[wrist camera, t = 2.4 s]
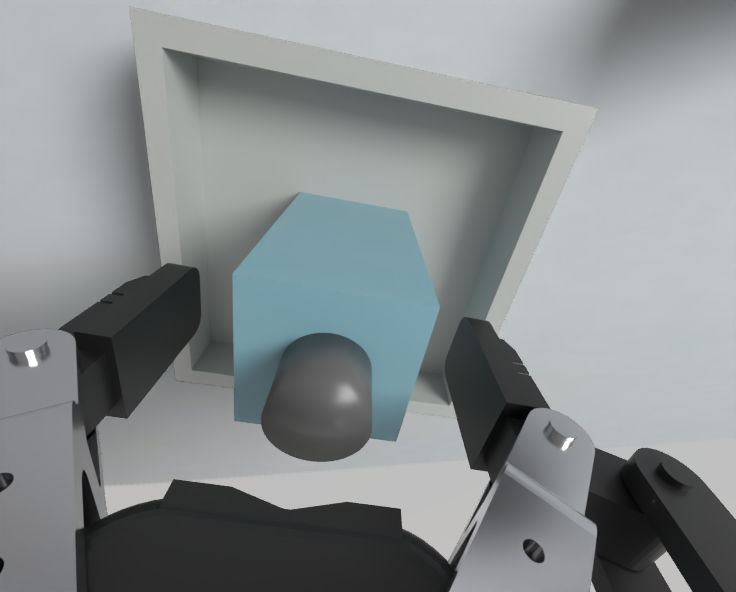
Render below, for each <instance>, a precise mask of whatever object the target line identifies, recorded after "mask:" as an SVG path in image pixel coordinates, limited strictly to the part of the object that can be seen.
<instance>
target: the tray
mask: <svg viewBox="0 0 736 592" xmlns="http://www.w3.org/2000/svg"><path fill="white" fill-rule="evenodd" d="M129 9H130V17H131V25H132V33H133V41H134V49H135V57H136V65H137V73H138V81H139V89H140V97H141V105H142V113H143V121H144V129H145V137H146V145H147V153H148V161H149V170H150V178H151V186H152V194H153V202H154V210H155V218H156V226H157V234H158V242H159V250H160V258H161V266H164V265H165V264H167V263H173V264H179V265H184V266H190V267H195V268H197V269H198V271H199V274H200V293H201V320H200V324H199V327H198V330H197V332H196V333H195V335H194V336H193V337H192V338H191V340H190V341H189V342H188V343H187V345H186V346H185V347H184V348H183V350H182V351H181V352H180V353H179V355H178V356H177V357H176V358H175V360H174V361H173V362H174V371H175V379H176V381H183V382H190V383H198V384H205V385H213V386H220V387H227V388H234V347H233V277H232V274H233V273H234V271H235V270H236V269H237V268H238V267H239V265H240V264H241V263H242V262H243V261H244V259H245V258H246V257H247V256H248V255H249V253H250V252H251V251H252V250H253V248H254V247H255V246H256V245H257V244H258V242H259V241H260V240H261V239H262V238H263V236H264V235H265V234H266V233H267V232H268V230H269V229H270V228H271V227H272V226H273V224H274V223H275V222H276V221H277V220H278V218H279V217H280V216H281V215H282V214H283V212H284V211H285V210H286V209H287V208H288V206H289V205H290V204H291V203H292V202H293V200H294V199H295V198H296V197H297V196H298V194H299V193H300V192H304V193H309V194H315V195H320V196H326V197H331V198H337V199H342V200H347V201H353V202H358V203H364V204H369V205H375V206H380V207H386V208H391V209H397V210H402V211H407V212H408V215H409V218H410V221H411V224H412V227H413V230H414V233H415V236H416V238H417V241H418V244H419V247H420V250H421V253H422V256H423V259H424V262H425V265H426V268H427V271H428V273H429V276H430V279H431V282H432V285H433V288H434V291H435V294H436V297H437V300H438V303H439V306H440V309H439V312H438V315H437V318H436V321H435V324H434V328H433V331H432V334H431V337H430V340H429V343H428V346H427V349H426V352H425V355H424V358H423V361H422V364H421V367H420V370H419V373H418V376H417V379H416V382H415V385H414V388H413V391H412V394H411V397H410V400H409V403H408V406H407V409H406V412H411V413H419V414H426V415H433V416H441V417H448V418H455V419H457V417H456V413H455V410H454V406H453V402H452V399H451V395H450V392H449V388H448V384H447V381H446V377H445V361H446V357H447V354H448V351H449V349H450V346H451V344H452V341H453V338H454V336H455V333H456V331H457V328H458V326H459V323H460V321H461V320H462V318H463V317H469V318H475V319H480V320H486V321H489V322H490V323H491V325H492V327H493V328H494V330H495V332H496V334H497V335H498V333H499V331H500V329H501V327H502V324H503V322H504V320H505V318H506V315H507V313H508V311H509V309H510V306H511V304H512V302H513V300H514V297H515V295H516V293H517V291H518V288H519V286H520V284H521V282H522V279H523V277H524V275H525V273H526V270H527V268H528V266H529V264H530V261H531V259H532V257H533V255H534V253H535V250H536V248H537V246H538V244H539V241H540V239H541V237H542V235H543V232H544V230H545V228H546V226H547V223H548V221H549V219H550V217H551V214H552V212H553V210H554V208H555V205H556V203H557V201H558V199H559V196H560V194H561V192H562V190H563V187H564V185H565V183H566V181H567V178H568V176H569V174H570V172H571V170H572V167H573V165H574V163H575V161H576V158H577V156H578V154H579V152H580V149H581V147H582V145H583V143H584V140H585V138H586V136H587V134H588V131H589V129H590V127H591V125H592V122H593V120H594V118H595V116H596V113H597V111H598V108H594V107H589V106H585V105H580V104H575V103H571V102H566V101H562V100H557V99H552V98H548V97H543V96H539V95H534V94H529V93H525V92H520V91H516V90H511V89H506V88H502V87H497V86H493V85H488V84H483V83H479V82H474V81H470V80H465V79H460V78H456V77H451V76H447V75H442V74H437V73H433V72H428V71H424V70H419V69H414V68H410V67H405V66H401V65H396V64H391V63H387V62H382V61H378V60H373V59H368V58H364V57H359V56H354V55H350V54H345V53H341V52H336V51H331V50H327V49H322V48H318V47H313V46H308V45H304V44H299V43H295V42H290V41H285V40H281V39H276V38H272V37H267V36H262V35H258V34H253V33H249V32H244V31H239V30H235V29H230V28H226V27H221V26H216V25H212V24H207V23H203V22H198V21H193V20H189V19H184V18H180V17H175V16H170V15H166V14H161V13H157V12H152V11H147V10H143V9H138V8H134V7H129Z"/></svg>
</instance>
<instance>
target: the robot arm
mask: <svg viewBox="0 0 736 592" xmlns="http://www.w3.org/2000/svg"><path fill="white" fill-rule="evenodd" d="M200 320H201V293H200V274H199V271H198V269H197V268H195V267H190V266H184V265H179V264H173V263H167V264H165V265H164V266H162V267H161V268H160V269H158V270H157V271H155V272H154V273H153V274H151V275H150V276H143V277H140V278H138V279H135V280H132V281H129V282H126V283H125V284H123V285H122V286H120V287H119V288H117V289H116V290H114V291H113V292H112V294H109V295H107V296H106V297H104V298H103V299H101V301H100V303H99V302H97V303H96V304H94V305H93V306H91V307H90V308H88V309H87V310H85V311H84V312H82V313H81V314H80V315H78V316H77V317H75V318H74V319H72V320H71V321H69V322H68V323H67V324H65V325H64V326H62V327H61V328H59V329H58V330H56V329H37V330H29V331H23V332H19V333H15V334H12V335H9V336H6V337H3V338H1V339H0V592H590V585H591V581H592V583H593V586H594V588H595V590H596V592H671V590H670V588H669V587H668V585H667V583H666V581H665V580H664V578H663V576H662V574H661V573H660V571H659V569H658V568H657V566H656V564H655V563H654V561H655V560H657V559H658V558H659V557H660V556H662V555H663V554H664V553H665V552H666V551H667V552H668V553H669V555H670V556H671V558H672V559H673V561H674V563H675V564H676V566H677V568H678V569H679V571H680V572H681V574H682V576H683V577H684V579H685V580H686V582H687V583H688V585H689V587H690V588H691V590H692V592H736V519H735V518H734V517H733V516H732V515H731V514H730V512H729V511H728V510H727V509H726V508H725V507H724V505H723V504H722V503H721V502H720V500H719V499H718V498H717V497H716V496H715V495H714V493H713V492H712V491H711V490H710V489H709V488H708V486H707V485H706V484H705V483H704V482H703V481H702V480H701V479H700V478H699V477H698V476H697V475H696V474H695V473H694V472H693V471H692V470H690V469H689V468H688V467H687V466H685V465H684V464H682V463H681V462H679V461H678V460H676V459H675V458H673V457H671V456H669V455H667V454H665V453H663V452H660V451H658V450H654V449H650V448H641V449H638V450H637V451H636V452H635V453H634V454H633V455H632V457H631V458H630V459H629V460H628V461H627V460H624V459H622V458H619V457H617V456H615V455H612V454H609V453H607V452H605V451H602V450H600V449H597V448H595V447H594V444H593V441H592V440H591V438H590V436H589V435H588V434H587V432H586V431H585V430H584V429H583V428H582V427H581V426H580V425H579V424H577V423H576V422H575V421H573V420H572V419H571V418H569V417H567V416H566V415H564V414H562V413H560V412H557V411H555V410H552V409H550V408H549V406H548V404H547V403H546V401H545V399H544V397H543V396H542V394H541V392H540V391H539V389H538V387H537V386H536V384H535V382H534V381H533V379H532V377H531V376H529V372H528V371H527V369H526V367H525V366H524V365H523V362H522V361H521V359H520V357H519V356H518V354H517V352H516V351H515V350H514V349H513V348H512V347H511V346H510V345H509V344H507V343H506V342H505V341H504V340H503V339H499V337H498V336H497V334H496V332H495V330H494V328H493V327H492V325H491V323H490V322H489V321H486V320H480V319H475V318H469V317H463V318H462V320H461V321H460V323H459V326H458V328H457V331H456V333H455V336H454V338H453V341H452V344H451V346H450V349H449V351H448V354H447V357H446V361H445V377H446V381H447V384H448V388H449V392H450V395H451V399H452V402H453V406H454V410H455V413H456V417H457V421H458V424H459V428H460V432H461V435H462V439H463V442H464V446H465V450H466V453H467V457H468V461H469V464H470V468H471V469H474V470H482V471H488V473H489V476H490V481H489V482H488V484H487V486H486V487H485V489H484V492H483V493H482V496H481V498H480V499H479V501H478V503H477V506H476V507H475V509H474V511H473V513H472V516H471V517H470V519H469V521H468V523H467V525H466V527H465V529H464V531H463V533H462V535H461V537H460V539H459V541H458V543H457V545H456V547H455V549H454V551H453V553H452V555H451V556H450V558H449V560H448V561H447V560H446V559H445V558H444V557H443V556H442V555H441V554H439V552H437V551H436V550H435V549H434V548H433V547H431V546H430V545H429V544H428V543H426V542H425V541H424V540H422V539H421V538H419V537H417V536H416V535H414V534H412V533H410V532H409V531H406V530H404V529H402V521H401V509H398V508H390V507H382V506H375V505H367V504H359V503H351V502H343V503H336V504H329V505H322V506H315V507H307V508H300V509H293V510H288V509H283V508H280V507H277V506H275V505H273V504H271V503H268V502H266V501H264V500H261V499H259V498H256V497H254V496H251V495H249V494H247V493H245V492H243V491H240V490H238V489H235V488H233V487H229V486H221V485H214V484H205V483H198V482H191V481H183V480H175V479H174V480H173V481H172V483H171V485H170V487H169V489H168V491H167V492H166V494H165V496H164V498H163V499H159V500H154V501H149V502H145V503H141V504H137V505H134V506H131V507H128V508H125V509H122V510H120V511H117V512H115V513H113V514H111V515H108V513H107V508H106V501H105V492H104V481H103V470H102V460H101V449H100V438H99V431H98V427H97V425H98V424H99V423H100V422H101V420H102V419H103V418H104V417H105V416H112V417H119V418H126V419H127V418H128V417H129V416H130V414H131V413H132V412H133V411H134V409H135V408H136V407H137V406H138V404H139V403H140V402H141V401H142V399H143V398H144V397H145V396H146V394H147V393H148V392H149V391H150V389H151V388H152V387H153V386H154V384H155V383H156V382H157V381H158V379H159V378H160V377H161V376H162V374H163V373H164V372H165V371H166V370H167V368H168V367H169V366H170V365H171V363H172V362H173V361H174V360H175V358H176V357H177V356H178V355H179V353H180V352H181V351H182V350H183V348H184V347H185V346H186V345H187V343H188V342H189V341H190V340H191V338H192V337H193V336H194V335H195V333H196V332H197V330H198V327H199V324H200Z"/></svg>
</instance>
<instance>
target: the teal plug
mask: <svg viewBox="0 0 736 592" xmlns="http://www.w3.org/2000/svg"><path fill="white" fill-rule="evenodd" d="M232 277H233V347H234V417H235V421H240V422H247V423H255V424H261V425H262V429H263V432H264V434H265V435H266V437H267V439H268V440H269V441H270V442H271V443H272V444H273V445H274V446H275V447H276V448H278V449H279V450H281V451H282V452H284V453H286V454H288V455H290V456H293V457H296V458H299V459H303V460H308V461H317V462H326V461H334V460H339V459H343V458H346V457H348V456H350V455H352V454H354V453H356V452H357V451H359V450H360V449H361V448H362V447H363V446H364V445H365V444H366V443H367V441H368V440H369V438H372V439H380V440H387V441H395V442H396V440H397V437H398V434H399V431H400V428H401V425H402V422H403V418H404V415H405V412H406V409H407V406H408V403H409V400H410V397H411V394H412V391H413V388H414V385H415V382H416V379H417V376H418V373H419V370H420V367H421V364H422V361H423V358H424V355H425V352H426V349H427V346H428V343H429V340H430V337H431V334H432V331H433V328H434V324H435V321H436V318H437V315H438V312H439V309H440V306H439V303H438V300H437V297H436V294H435V291H434V288H433V285H432V282H431V279H430V276H429V273H428V271H427V268H426V265H425V262H424V259H423V256H422V253H421V250H420V247H419V244H418V241H417V238H416V236H415V233H414V230H413V227H412V224H411V221H410V218H409V215H408V212H407V211H402V210H397V209H391V208H386V207H380V206H375V205H369V204H364V203H358V202H353V201H347V200H342V199H337V198H331V197H326V196H320V195H315V194H309V193H304V192H300V193H299V194H298V196H297V197H296V198H295V199H294V200H293V202H292V203H291V204H290V205H289V206H288V208H287V209H286V210H285V211H284V212H283V214H282V215H281V216H280V217H279V218H278V220H277V221H276V222H275V223H274V224H273V226H272V227H271V228H270V229H269V230H268V232H267V233H266V234H265V235H264V236H263V238H262V239H261V240H260V241H259V242H258V244H257V245H256V246H255V247H254V248H253V250H252V251H251V252H250V253H249V255H248V256H247V257H246V258H245V259H244V261H243V262H242V263H241V264H240V265H239V267H238V268H237V269H236V270H235V271H234V273H233V274H232Z"/></svg>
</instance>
